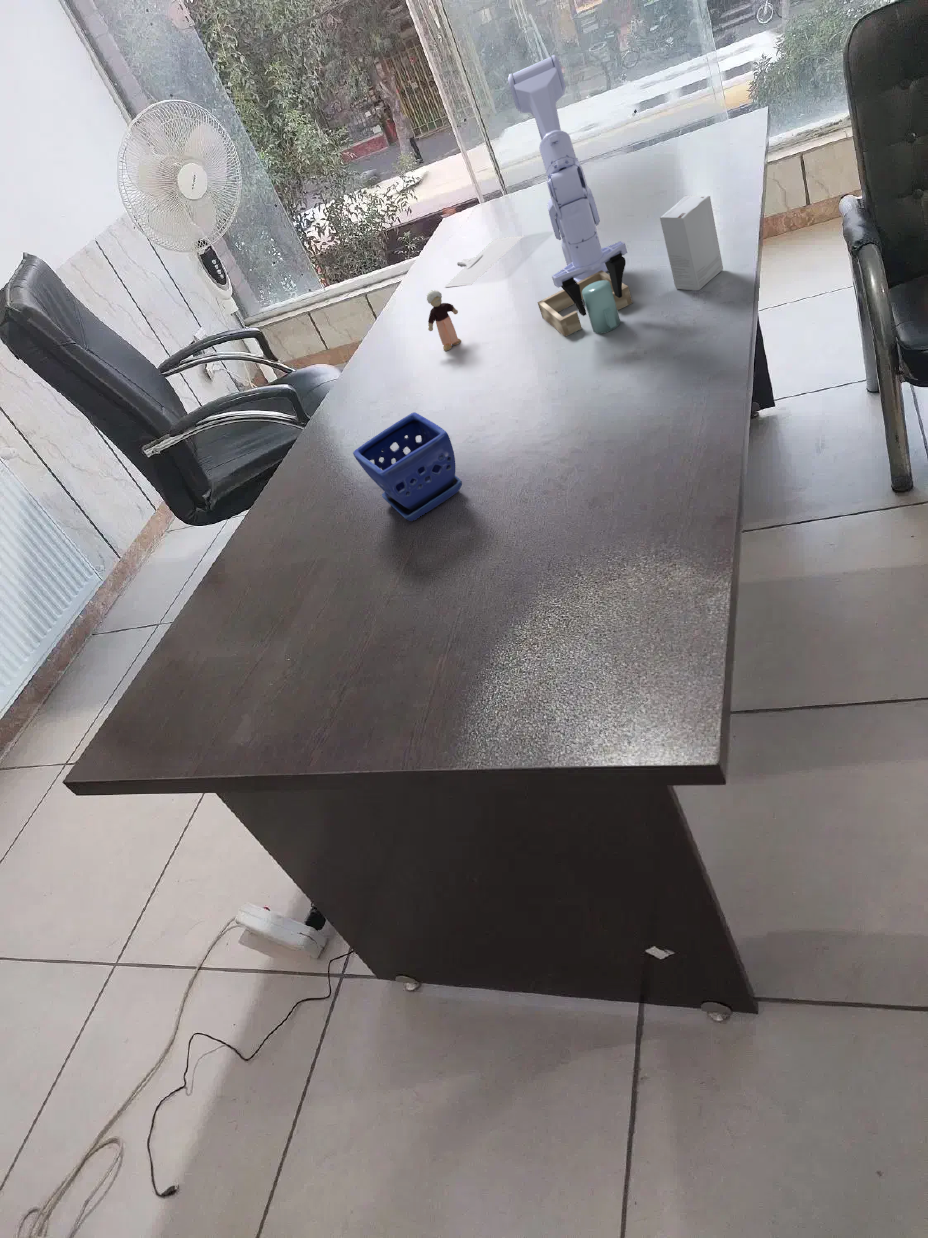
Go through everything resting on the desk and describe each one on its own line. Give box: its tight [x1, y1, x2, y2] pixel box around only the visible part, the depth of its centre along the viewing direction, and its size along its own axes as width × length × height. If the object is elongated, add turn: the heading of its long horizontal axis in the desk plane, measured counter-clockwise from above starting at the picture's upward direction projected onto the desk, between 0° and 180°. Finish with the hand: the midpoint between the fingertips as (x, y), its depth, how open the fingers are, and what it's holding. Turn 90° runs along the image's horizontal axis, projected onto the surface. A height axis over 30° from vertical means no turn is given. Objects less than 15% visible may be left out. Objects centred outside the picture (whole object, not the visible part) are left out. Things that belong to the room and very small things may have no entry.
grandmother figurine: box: [426, 289, 462, 352], centre depth 187 cm, size 8×4×13 cm, turn 131°
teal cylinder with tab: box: [582, 280, 621, 334], centre depth 166 cm, size 6×8×8 cm
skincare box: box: [659, 195, 724, 292], centre depth 164 cm, size 8×6×15 cm
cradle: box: [537, 270, 633, 338], centre depth 177 cm, size 14×15×4 cm
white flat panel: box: [444, 235, 525, 288], centre depth 220 cm, size 25×24×1 cm
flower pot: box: [352, 412, 463, 522], centre depth 144 cm, size 13×13×12 cm
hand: (600, 304), depth 167 cm, fingers open, 7 cm apart
